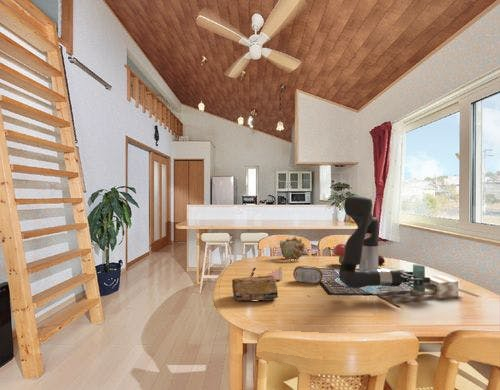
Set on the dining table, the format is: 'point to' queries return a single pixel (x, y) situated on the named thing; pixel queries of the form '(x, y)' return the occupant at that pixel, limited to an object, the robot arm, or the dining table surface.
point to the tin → (308, 274)
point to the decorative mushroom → (340, 251)
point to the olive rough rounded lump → (292, 248)
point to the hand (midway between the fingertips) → (423, 277)
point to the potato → (380, 260)
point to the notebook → (276, 274)
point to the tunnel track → (444, 292)
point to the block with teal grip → (421, 289)
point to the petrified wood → (255, 288)
